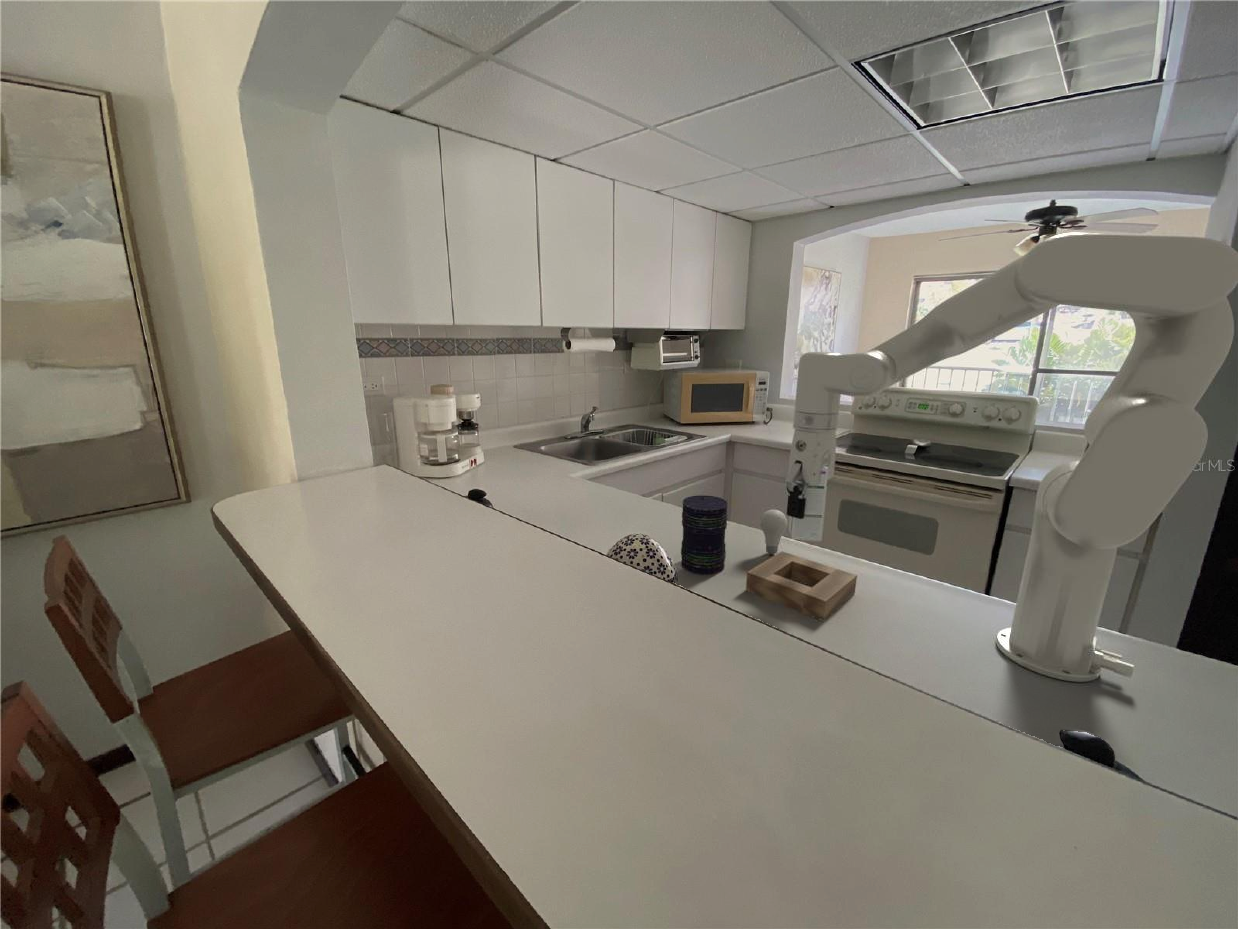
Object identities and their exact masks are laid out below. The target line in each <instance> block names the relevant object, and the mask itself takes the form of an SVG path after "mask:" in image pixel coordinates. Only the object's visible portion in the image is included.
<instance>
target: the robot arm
mask: <svg viewBox="0 0 1238 929" xmlns="http://www.w3.org/2000/svg"><path fill="white" fill-rule="evenodd" d="M1237 285H1238V251H1237V250H1236V249H1234V248H1233V247H1232V246H1231V245H1229V244H1227V243H1225V242H1223V241H1221V240H1217V239H1213V238H1211V237H1210V238H1209V237H1203V236H1201V237H1200V236H1177V235H1174V236H1173V235H1144V234H1118V233H1094V232H1093V233H1092V232H1067V233H1062V234H1057V235H1054V236H1050V237H1048V238H1046V239H1044V240H1042V241H1040V242H1039V243H1037V244H1036V245H1035V246H1033V247H1032V248H1031V249H1030V250H1029V251H1028V252H1027V253H1026V254H1024V255H1022V256H1020V257H1018V258H1017V259H1016V260H1013V261H1011V262H1010V263H1008V264H1007V265H1005V266H1003V267H1002V268H999V269H998V270H996V271H994V272H993V273H991V274H989V275H988V276H986V277H984V278H982V279H981V280H979V281H977V282H976V283H974V284H972V285H970V286H968V287H966V288H965V289H963V290H961V291H960V292H958V293H957V294H954V295H952V296H951V297H948V298H947V299H945V300H944V301H942V302H941V303H940V304H938V305H937V306H935V307H934V308H933V309H931V310H930V311H929V312H928V313H927V314H926V315H925V316H924V317H922V318H921V319H920V320H918V321H917V322H916V323H914V324H912V325H911V326H909V327H908V328H907V329H904V330H903V331H900V332H899V333H897V334H896V335H895V336H893V337H891V338H889V339H887V340H886V341H884V342H883V343H880V344H879V345H876V346H874V347H873V348H871V349H869V350H868V351H863V352H858V353H856V352H855V353H849V354H848V353H847V354H841V353H839V352H832V351H831V352H830V351H809V352H805V353H803V354H802V355H801V356H800V358H799V362H798V371H797V381H796V392H795V399H794V400H795V401H794V402H795V403H794V412H793V422H792V423H793V424H792V428H793V429H794V432H793V436H792V441H791V446H790V447H791V448H790V453H789V454H790V455H789V462H788V470H787V472H788V473H787V476H786V478H785V480H784V481H785V484H786V491H787V494H786V495H787V507H786V515H787V517H789V516H791V517H795V518H799V519H803V518H804V514H805V504H806V498H804V496H805V493H806V490H807V487H808V484H809V485H810V486H815V485H817V484H819V483H820V481H821V473H822V468H823V467H825V466H826V467H827V468H828V477H827V487H828V485H829V481H828V480H829V479H831V478H832V477H834V474H835V467H836V455H837V453H836V451H837V450H836V449H837V448H836V447H837V430H838V429H837V428H838V421H839V412H840V411H839V410H840V406H841V405H840V404H841V403H840V402H841V395H843V396H848V397H852V398H853V397H854V398H857V399H858V398H860V399H868V398H872V397H875V396H877V395H879V394H880V393H882V392H883V391H885V390H886V389H888V388H890V387H892V386H893V385H895V384H897V383H899V382H901V381H903V380H904V379H906V378H909V377H911V376H913V375H914V374H917V373H918V372H920V371H922V370H925V369H927V368H929V367H930V366H933V365H935V364H937V363H939V362H941V361H944V360H946V359H947V360H948V359H950V358H954V357H956V356H960V355H962V354H964V353H966V352H969V351H970V350H974V349H975V348H977V347H979V346H981V345H984V344H985V343H987V342H989V341H991V340H993V339H994V338H997V337H999V336H1000V335H1003V334H1005V333H1006V332H1009V331H1010V330H1013V329H1015V328H1016V327H1018V326H1020V325H1022V324H1024V323H1026V322H1029V321H1031V320H1032V319H1035V318H1036V317H1038V316H1040V315H1043V314H1044V313H1046V312H1049V311H1051V310H1052V309H1054V308H1056V307H1058V306H1060V305H1061V306H1063V305H1064V306H1070V307H1076V308H1077V307H1079V308H1085V309H1086V308H1087V309H1096V310H1107V311H1115V312H1117V311H1118V312H1124V313H1125V312H1126V313H1127V315H1129V316H1130V317H1131V319H1132V322H1133V323H1134V329H1135V330H1134V331H1135V333H1134V334H1135V335H1134V340H1133V343H1132V346H1131V348H1130V350H1129V351H1128V354H1127V356H1126V358H1125V359H1124V361H1123V364H1122V365H1121V366H1120V368H1119V370H1118V372H1117V373H1116V375H1115V376H1114V378H1113V380H1111V382H1110V384H1109V385H1108V387H1107V389H1106V390H1105V391H1104V393H1103V395H1102V396H1101V398H1100V399H1099V400H1098V402H1097V404H1096V405H1095V406H1094V408H1093V409H1092V410H1091V412H1090V413H1089V415H1088V417H1087V418H1086V421H1085V422H1084V427H1083V428H1084V429H1083V433H1084V437H1085V440H1086V441H1087V443H1088V445H1089V446H1088V448H1086V450H1085V451H1084V454H1083V455H1082V457H1081V459H1080V460H1075V461H1070V462H1069V461H1068V462H1065V463H1062V464H1060V465H1058V466H1055V467H1054V468H1052V469H1051V470H1050V471H1048V472H1047V473H1046V474H1045V476H1044V477H1043V478H1042V480H1041V481H1040V483H1039V486H1038V489H1037V493H1036V497H1035V501H1034V502H1035V503H1034V513H1033V521H1032V526H1031V534H1030V538H1029V539H1030V540H1029V545H1028V549H1027V554H1026V557H1025V562H1024V566H1023V571H1022V575H1021V580H1020V581H1021V582H1020V585H1019V591H1018V595H1017V599H1016V604H1015V608H1014V611H1013V612H1014V613H1013V618H1012V621H1011V627H1007V628H1004V629H1001V630H999V632H997V636H996V637H995V638H996V640H995V643H996V647H998V649H999V650H1000V651H1001V652H1002V654H1004V655H1005V656H1006V657H1007V658H1009V659H1010V660H1012V661H1013V662H1014V663H1017V664H1018V665H1020V666H1021V667H1024V668H1026V669H1028V670H1029V671H1033V672H1035V673H1036V674H1037V673H1038V674H1039V675H1043V676H1046V677H1049V678H1054V679H1057V680H1061V681H1067V682H1074V683H1075V682H1079V683H1082V682H1083V683H1084V682H1091V681H1094V680H1096V679H1098V678H1099V677H1100V675H1101V671H1102V669H1104V670H1107V671H1110V672H1113V673H1114V674H1117V675H1122V676H1123V677H1126V678H1129V679H1131V678H1132V676H1133V672H1134V666H1135V665H1134V664H1132V663H1129V662H1126V661H1122V658H1123V655H1122V654H1119V653H1116V652H1112V651H1108V650H1104V649H1101V646H1098V645H1096V643H1097V637H1096V633H1097V629H1098V625H1099V621H1100V617H1101V613H1102V609H1103V606H1104V601H1105V598H1106V594H1107V590H1108V586H1109V582H1110V580H1111V579H1110V578H1111V576H1112V572H1113V568H1114V565H1115V560H1116V556H1117V551H1118V548H1119V547H1122V546H1125V545H1127V544H1129V543H1132V542H1133V541H1135V540H1136V539H1138V538H1139V537H1140V536H1141V535H1143V534H1144V533H1145V532H1146V531H1147V530H1148V529H1149V528H1150V526H1152V524H1153V523H1154V522H1155V520H1156V519H1157V518H1158V516H1160V514H1161V513H1162V512H1163V511H1164V509H1165V508H1166V506H1167V505H1168V503H1169V502H1170V501H1171V500H1172V499H1173V497H1174V496H1175V495H1176V493H1177V492H1178V491H1179V490H1180V488H1181V487H1182V485H1183V484H1184V483H1185V482H1186V480H1187V479H1188V478H1189V476H1190V475H1191V474H1192V472H1193V471H1194V469H1195V468H1196V466H1197V465H1198V463H1199V462H1200V460H1201V459H1202V457H1203V455H1204V452H1205V450H1206V447H1207V443H1208V435H1209V433H1208V427H1207V425H1206V421H1205V420H1204V419H1203V416H1202V415H1200V413H1199V412H1198V411H1197V410H1195V408H1196V406H1197V404H1198V403H1199V402H1200V400H1201V399H1202V397H1203V395H1204V394H1205V392H1206V391H1207V390H1208V388H1209V386H1210V385H1211V383H1212V381H1213V380H1214V378H1215V376H1216V375H1217V374H1218V372H1219V370H1220V369H1221V367H1222V366H1223V365H1224V362H1225V361H1226V358H1227V356H1228V354H1229V352H1230V349H1231V347H1232V343H1233V340H1234V336H1235V322H1234V317H1233V316H1234V315H1233V311H1232V307H1231V305H1230V302H1229V299H1228V297H1227V296H1229V295H1230V294H1231V293H1232V292H1233V291H1234V290H1235V288H1236V286H1237ZM801 471H802V475H803V478H804V481H800V480H796V479H797V478H798V476H799V474H800V473H801ZM796 484H799V485H802V488H801V490H800V489H799V487H798V486H796Z"/></svg>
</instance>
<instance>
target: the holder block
mask: <svg viewBox="0 0 1238 929" xmlns="http://www.w3.org/2000/svg"><path fill="white" fill-rule="evenodd" d="M857 578H858V575H857V574H854V573H851V572H848V571H845V570H841V569H839V568H835V567H832V566H829V565H825V564H823V563H819V562H817V561H814V560H811V559H807V558H804V557H801V556H798V555H794V554H792V553H788V552H785V551H780V552H777V553H776V554H774V555H772V556H771V557H770V558H768V559H767V560H765V561H763V562H762V563H759V564H758V565H757V566H755V567H753V568H752V569H750V570H748V571H747V572H746V582H745V583H746V584H745V585H746V586H745V590H746V591H747V592H749V593H752V594H755V595H757V596H760V597H762V598H764V599H767V600H769V601H771V602H775V603H777V604H779V605H782V606H784V607H787V608H789V609H791V610H795V611H797V612H800V613H802V614H804V613H805V615H807V614H808V615H807V616H809V615H810V617H812V616H814V617H815V619H817V618H818V619H817V620H819V619H821V620H820V621H822V620H825V619H826V620H827V619H829V617H831V616H832V615H833V614H834V613H835V612H836V611H837V610H838V609H840V608H841V607H842V606H843V605H844V604H845V603H846V602H848V601H849V600H850V599H851V598H852V597H853V596H854V595H855V594H856V588H857V587H856V585H857ZM802 582H803V583H802ZM805 583H806V584H805ZM810 585H812V586H810ZM854 593H855V594H854ZM853 594H854V595H853ZM852 595H853V596H852ZM851 596H852V597H851ZM850 597H851V598H850ZM844 602H845V603H844ZM843 603H844V604H843ZM841 605H842V606H841ZM832 613H833V614H832ZM831 614H832V615H831ZM814 617H813V618H814ZM826 620H825V621H826Z"/></svg>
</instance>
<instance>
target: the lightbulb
mask: <svg viewBox="0 0 1238 929" xmlns="http://www.w3.org/2000/svg"><path fill="white" fill-rule="evenodd" d="M759 524H760V525H759V526H760V528H761V530H762V533H763V534H764V535H763V536H764V539H765V540H764V542H765V545H766V546H765V552H766V553H767V554H768V555H771V556H774V555H776V554H778V548H779V545H780V543H781V542H780V541H781V538H782V536H783V534H784V533H785V531H786V530H788V518H787V517H786V515H785V514H784V513H783V512H782V511H781V510H778V509H769V510H766V511H765V512H763V513H762V515H761V517H760V519H759Z"/></svg>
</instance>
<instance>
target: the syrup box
mask: <svg viewBox="0 0 1238 929" xmlns="http://www.w3.org/2000/svg"><path fill="white" fill-rule="evenodd" d="M827 477H828V468H827V467H826V466H825V467H823V468H822V473H821V481H820V483H819V484H817V485H815V486H810V485H809V484H808V487H807V490H806V493H805V496H804V498H806V504H805V514H804V518H803V519H799V518H795V517H791V516H788V518H787V522H788V526H787V530H788V533H789V536H790V539H792V540H797V541H805V542H807V541H808V542H822V540H823V531H824V522H825V521H824V520H825V511H826V500H827V499H826V498H827V488H828V486H827V481H828V480H827ZM796 480H800V481H804V478H803V475H802V471H801V473H800V474H799V476H798V478H797V479H796ZM796 486H798V487H799V489H800V490H801V488H802V485H799V484H796Z"/></svg>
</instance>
